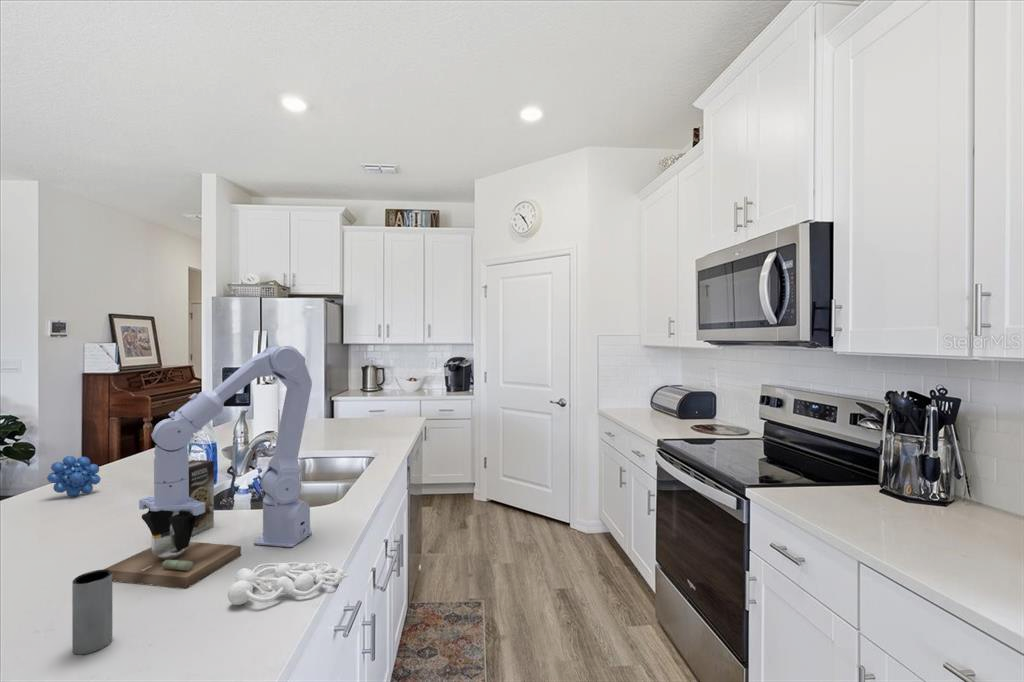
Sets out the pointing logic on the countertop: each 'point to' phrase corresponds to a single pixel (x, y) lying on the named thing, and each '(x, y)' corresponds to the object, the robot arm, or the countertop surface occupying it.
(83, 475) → the blue ball cluster
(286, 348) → the robot arm
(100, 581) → the planter
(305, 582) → the tangled rod sculpture
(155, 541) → the knob
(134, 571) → the base
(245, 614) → the countertop surface
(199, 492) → the coffee box
